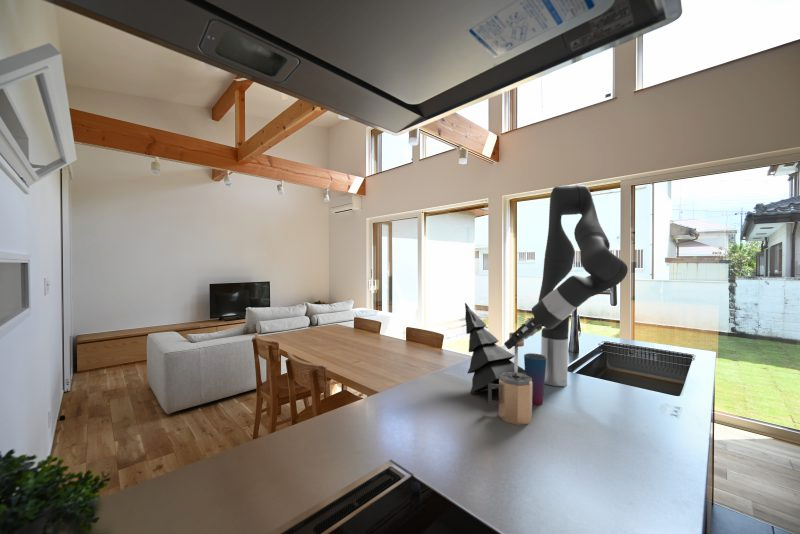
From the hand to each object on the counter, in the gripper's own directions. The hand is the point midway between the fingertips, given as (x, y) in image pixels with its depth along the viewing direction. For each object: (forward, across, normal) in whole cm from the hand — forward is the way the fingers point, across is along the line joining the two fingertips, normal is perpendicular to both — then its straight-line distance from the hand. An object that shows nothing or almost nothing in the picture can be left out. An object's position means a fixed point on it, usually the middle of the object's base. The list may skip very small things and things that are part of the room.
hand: (509, 344), depth 99 cm
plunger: (+9, 0, +12) cm, 15 cm away
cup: (+13, -15, +17) cm, 26 cm away
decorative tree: (+25, -14, +5) cm, 29 cm away
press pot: (+14, +1, +16) cm, 21 cm away
